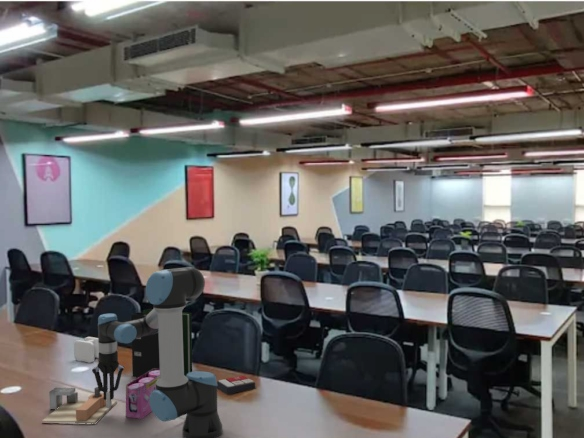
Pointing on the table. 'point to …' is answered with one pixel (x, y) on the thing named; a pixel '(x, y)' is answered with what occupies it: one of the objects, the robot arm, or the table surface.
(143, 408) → the gum box
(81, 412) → the link
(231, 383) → the calculator
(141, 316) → the binder
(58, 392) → the keeper
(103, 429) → the table surface
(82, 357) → the cable organizer
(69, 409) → the plate
